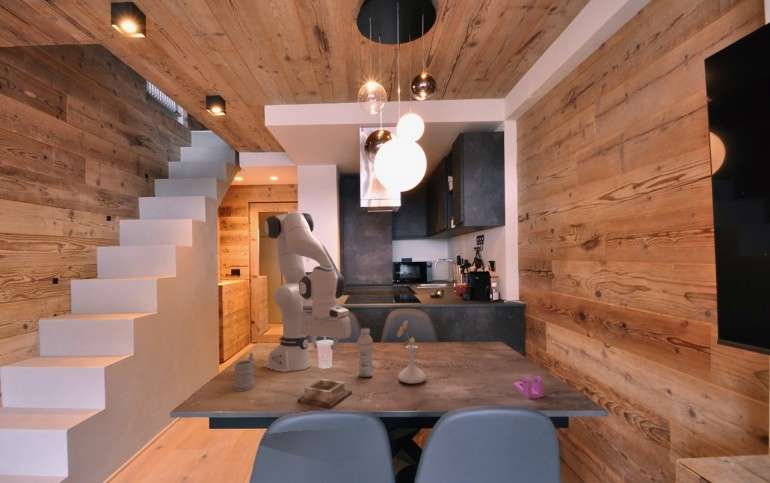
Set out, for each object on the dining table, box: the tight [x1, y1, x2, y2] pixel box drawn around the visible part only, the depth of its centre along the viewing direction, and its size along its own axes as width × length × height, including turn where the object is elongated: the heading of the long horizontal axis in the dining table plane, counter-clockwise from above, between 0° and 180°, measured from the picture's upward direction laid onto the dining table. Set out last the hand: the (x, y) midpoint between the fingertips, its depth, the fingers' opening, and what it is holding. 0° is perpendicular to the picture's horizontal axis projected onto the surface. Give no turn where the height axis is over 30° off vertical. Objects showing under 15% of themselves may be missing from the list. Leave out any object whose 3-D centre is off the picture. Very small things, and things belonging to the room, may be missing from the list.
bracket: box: [513, 375, 544, 400], centre depth 131 cm, size 13×6×7 cm, turn 7°
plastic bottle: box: [357, 327, 375, 378], centre depth 150 cm, size 6×7×20 cm
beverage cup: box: [316, 337, 334, 369], centre depth 128 cm, size 6×6×14 cm
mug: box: [232, 352, 256, 392], centre depth 140 cm, size 8×12×12 cm, turn 174°
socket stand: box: [296, 378, 353, 409], centre depth 127 cm, size 14×14×4 cm
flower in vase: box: [396, 320, 427, 385], centre depth 143 cm, size 13×11×25 cm
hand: (325, 348), depth 128 cm, fingers closed on beverage cup, 6 cm apart
